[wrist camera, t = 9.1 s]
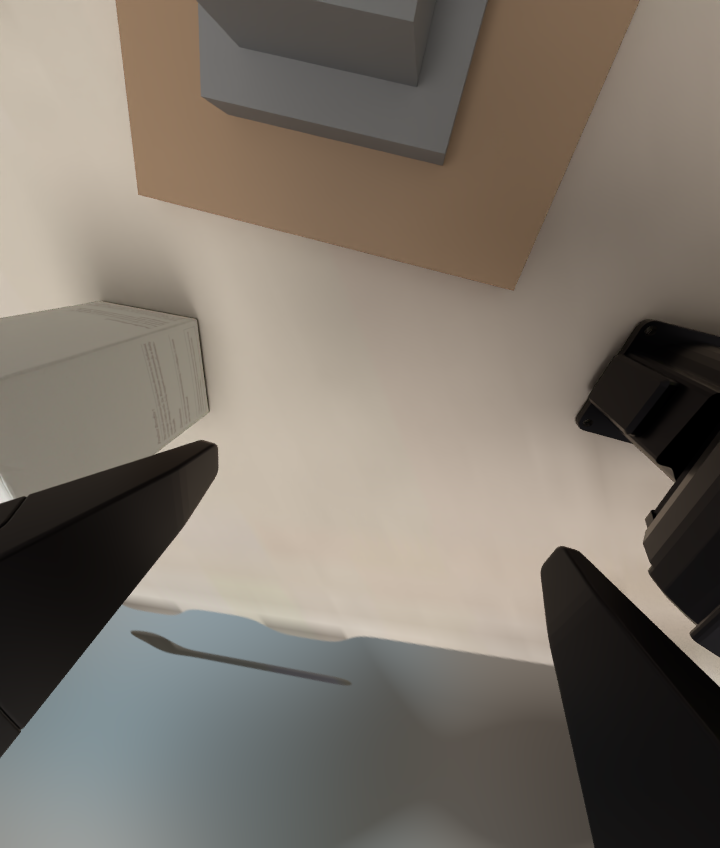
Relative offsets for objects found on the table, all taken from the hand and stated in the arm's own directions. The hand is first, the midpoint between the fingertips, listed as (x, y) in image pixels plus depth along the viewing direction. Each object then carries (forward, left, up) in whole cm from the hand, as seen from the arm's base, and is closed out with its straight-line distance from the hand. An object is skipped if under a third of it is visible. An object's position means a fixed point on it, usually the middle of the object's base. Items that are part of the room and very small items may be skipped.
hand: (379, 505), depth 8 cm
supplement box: (+17, +5, -13) cm, 22 cm away
